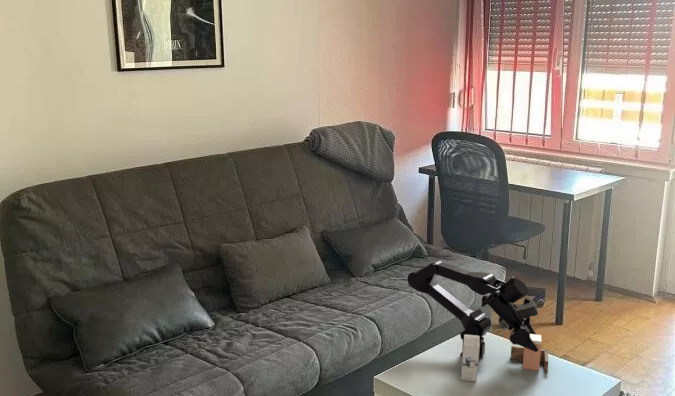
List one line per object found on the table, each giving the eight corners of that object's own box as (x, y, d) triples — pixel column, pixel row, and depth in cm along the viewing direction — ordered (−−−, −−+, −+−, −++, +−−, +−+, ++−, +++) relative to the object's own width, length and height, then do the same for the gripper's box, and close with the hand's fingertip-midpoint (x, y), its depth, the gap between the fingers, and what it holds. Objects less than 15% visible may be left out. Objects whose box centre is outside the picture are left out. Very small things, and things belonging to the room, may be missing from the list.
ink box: (461, 367, 214) (463, 333, 211) (477, 369, 213) (479, 335, 210) (461, 380, 206) (462, 345, 203) (477, 382, 205) (479, 346, 202)
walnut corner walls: (510, 368, 214) (510, 356, 213) (510, 356, 222) (511, 345, 221) (547, 373, 211) (548, 361, 210) (546, 361, 219) (547, 349, 218)
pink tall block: (522, 368, 213) (525, 339, 211) (522, 361, 218) (525, 333, 216) (539, 370, 212) (541, 341, 210) (538, 363, 217) (541, 335, 215)
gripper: (523, 304, 202) (558, 342, 202) (523, 284, 220) (556, 319, 219) (495, 325, 206) (529, 363, 205) (497, 303, 223) (529, 338, 223)
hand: (537, 344), depth 213 cm, fingers open, 9 cm apart
